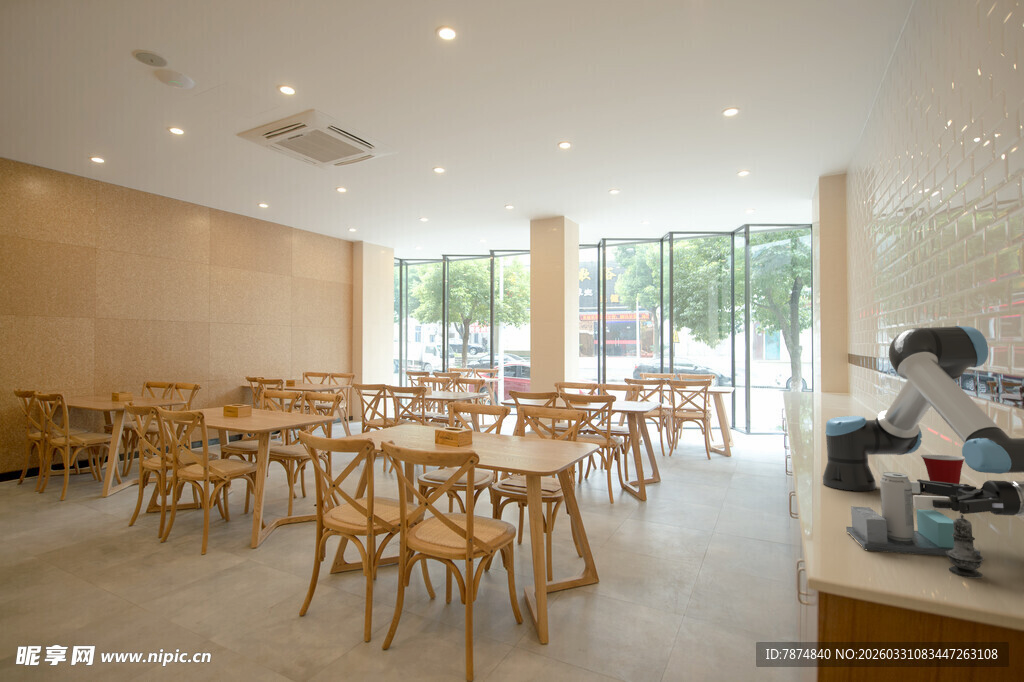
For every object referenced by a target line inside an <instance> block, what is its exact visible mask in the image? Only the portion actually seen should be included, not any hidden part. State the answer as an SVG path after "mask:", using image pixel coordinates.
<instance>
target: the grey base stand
mask: <svg viewBox="0 0 1024 682" xmlns="http://www.w3.org/2000/svg"><path fill="white" fill-rule="evenodd" d="M850 514H851V526H846V527H845V528H846V533H847V532H849V533H850V534H851V535H852V536H853V537H854V538H855V539H856V540H857V541H858V542H859V543H860V544H861V545H862V547H863V548H864V549H867V550H866V551H868V550H875V551H874V552H883V551H886V552H887V551H888V552H887V553H897V552H900V553H899V554H901V553H902V554H912V553H913V554H915V555H928V556H929V555H930V556H939V557H941V556H942V557H944V556H945V557H948V555H947V554H946V551H947V550H953V548H946V547H939V546H937V545H936V544H934V543H933V542H932V541H930V540H929V539H927V538H926V537H924V536H923V535H922V534H920V533H919V532H918V530H914V537H913V538H912V540H911V541H898V540H893V539H890V538H888V537H887V524H886V519H884V518H883V517H882V515H880V514H879V513H878V512H876V510H873V509H872V507H869V506H854V505H853V506H850ZM862 547H861V548H862ZM863 548H862V549H863ZM864 549H863V550H864ZM974 551H975V553H976V554H978V555H980V556H981V551H980V550H978V549H977V548H975V547H974ZM886 552H885V553H886Z"/></svg>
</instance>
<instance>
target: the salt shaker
mask: <svg viewBox="0 0 1024 682" xmlns="http://www.w3.org/2000/svg"><path fill="white" fill-rule="evenodd" d="M953 520H954V521H953V525H954V534H952V536H953V537H954V548H953V550H947V551H946V554H947V555H948V556H947V558H948V560H949V562H950V563H951V564H952V565H954V566H950V567H949V568H948V571H949V572H950V573H952V574H954V575H956V576H960V577H963V578H968V579H983V577H984V575H983V573H981V572H980V571H978V569H979V568H980V567H981V566H982V564H983V562H984V560H985V559H984V557H983V556H982V555H981V554H980V555H978V554H976V553H975V551H974V548H975V547H974V541H975V540H976V538H975V537H974V536H973V526H972V523H971V521H970V520H968V519H966V518H965V516H964V514H962V513H960V515H959V518H955V519H953Z"/></svg>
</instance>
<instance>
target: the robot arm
mask: <svg viewBox="0 0 1024 682" xmlns="http://www.w3.org/2000/svg"><path fill="white" fill-rule="evenodd" d="M988 357H989V347H988V341H987V340H986V337H985V336H984V334H983V333H982V332H981V331H979V330H978V329H977V328H975V327H973V326H966V325H965V326H964V325H963V326H961V325H954V326H937V327H936V326H935V327H932V326H931V327H913V328H909V329H906V330H904V331H902V332H900V333H899V334H897V335H896V336H895V337H894V338H893V340H892V341H891V343H890V345H889V348H888V358H889V362H890V364H891V366H892V368H893V369H894V371H895V372H896V373H897V374H898V375H899V376H900V377H901V378H902V379H905V380H906V382H905V383H904V385H903V386H902V388H901V390H900V391H899V393H898V394H897V396H896V397H895V399H894V400H893V402H892V404H891V405H890V407H889V408H888V409H885V410H882V411H880V412H879V414H878V415H877V417H876V418H875V419H871V420H870V419H869V420H867V419H866V418H865V417H864V416H861V415H851V416H849V415H846V416H838V417H832V418H829V419H828V420H827V421H826V424H825V436H826V437H825V439H826V441H825V442H826V451H827V452H826V453H827V454H826V455H827V463H826V465H825V469H824V471H823V475H822V484H823V485H824V484H825V485H824V486H826V485H827V487H829V488H833V489H837V488H838V490H843V489H844V491H851V490H853V491H855V492H869V491H870V492H871V491H874V490H876V489H877V481H876V478H875V477H874V474H873V473H872V469H871V467H870V465H869V455H871V456H873V455H875V456H876V455H877V456H879V455H881V456H882V455H884V456H885V455H888V456H889V455H890V456H891V455H893V456H894V455H897V456H902V455H909V454H913V453H914V452H915V453H916V451H917V450H918V449H919V448H920V447H921V444H922V440H921V439H922V438H923V434H922V431H921V428H920V425H919V423H920V422H921V421H922V419H923V417H924V416H925V415H926V414H927V412H928V411H929V409H930V408H931V407H932V408H933V409H934V410H935V411H936V412H937V413H938V415H940V417H941V419H943V420H944V421H945V423H946V424H947V425H948V426H949V427H950V428H951V429H952V431H954V433H955V435H956V436H957V437H958V438H959V439H960V440H961V441H962V442H963V445H962V448H961V453H962V454H961V455H962V457H964V458H965V460H964V462H965V465H967V467H968V468H970V469H971V470H973V471H976V472H978V473H985V474H1000V475H1001V474H1016V473H1020V474H1021V473H1024V438H1023V437H1022V438H1021V437H1017V438H1012V437H1010V436H1008V434H1007V433H1006V432H1005V431H1003V429H1002V428H1000V427H999V426H998V424H997V423H996V422H994V420H993V419H992V418H991V417H990V416H989V415H988V414H987V413H986V412H985V411H984V410H983V409H982V408H981V406H979V405H978V404H977V403H976V402H975V401H974V399H972V398H971V396H970V395H969V394H968V393H967V392H966V391H965V390H964V389H963V388H962V387H961V386H960V385H959V384H958V383H957V382H956V381H955V380H958V379H960V378H961V377H962V376H963V374H964V373H965V372H966V370H967V369H968V368H977V367H981V366H983V365H984V364H985V363H986V362H987V360H988ZM910 482H911V483H912V501H913V509H920V510H945V511H946V510H948V511H950V510H951V511H953V512H959V514H962V515H965V514H966V515H968V514H977V513H987V512H989V513H992V514H993V515H996V516H1022V517H1024V481H1022V480H1010V481H1009V480H989V479H988V480H986V481H985V482H983V483H982V486H981V488H977V486H974V485H970V484H968V483H959V484H954V483H945V482H937V481H930V480H926V479H916V481H911V480H910ZM853 491H852V492H853ZM924 493H925V494H931V495H923V494H924ZM913 494H915V495H913ZM916 494H918V495H916Z"/></svg>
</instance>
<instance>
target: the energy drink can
mask: <svg viewBox="0 0 1024 682" xmlns="http://www.w3.org/2000/svg"><path fill="white" fill-rule="evenodd" d="M910 481H911V480H910V479H909V475H907V474H905V473H901V472H893V471H892V472H891V471H890V472H889V471H888V472H883V473H882V476H881V477H880V479H879V485H880V486H879V487H880V488H879V489H880V502H881V503H880V505H881V516H882V517H883V518H884V519H886V524H887V537H888V538H890V539H893V540H898V541H911V540H912V538H913V537H914V531H915V521H914V519H915V518H914V506H913V493H912V483H911V482H910Z"/></svg>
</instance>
